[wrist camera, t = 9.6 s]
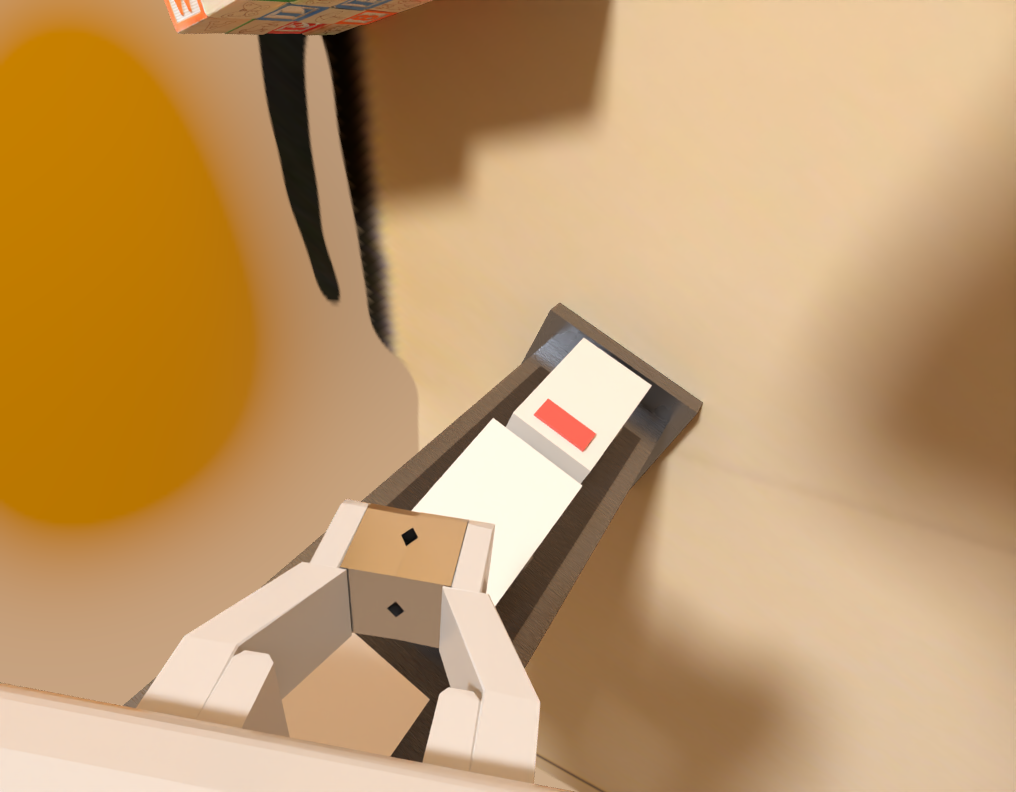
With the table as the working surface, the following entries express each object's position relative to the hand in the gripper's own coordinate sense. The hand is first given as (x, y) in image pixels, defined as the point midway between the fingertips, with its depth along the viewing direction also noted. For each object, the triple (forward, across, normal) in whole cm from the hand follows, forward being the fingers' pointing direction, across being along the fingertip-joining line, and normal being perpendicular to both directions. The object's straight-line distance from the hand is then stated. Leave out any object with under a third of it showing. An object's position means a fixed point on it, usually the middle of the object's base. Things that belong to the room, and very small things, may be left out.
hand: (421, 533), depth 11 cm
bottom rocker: (+23, +6, -9) cm, 26 cm away
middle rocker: (+13, +2, -8) cm, 15 cm away
